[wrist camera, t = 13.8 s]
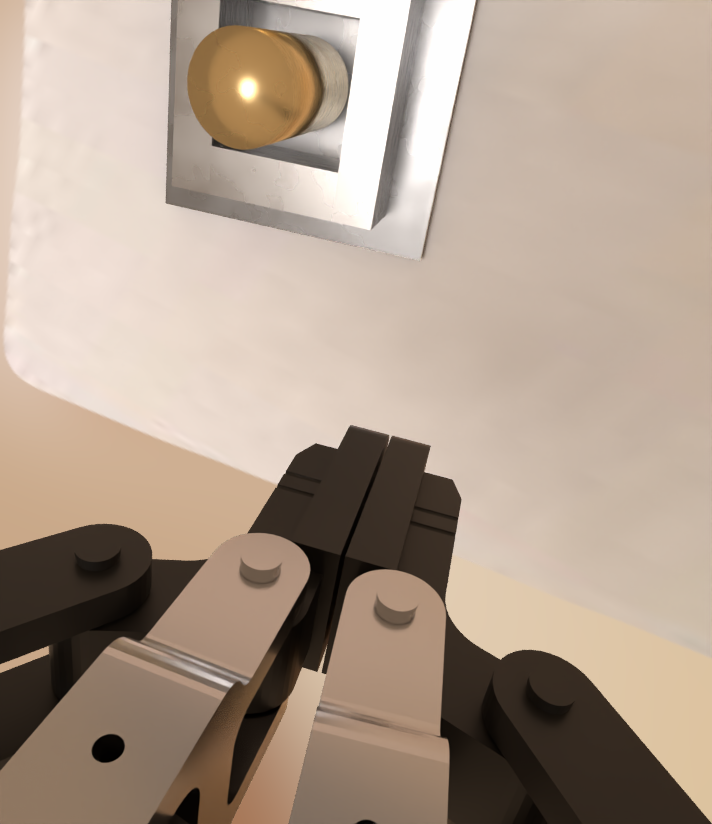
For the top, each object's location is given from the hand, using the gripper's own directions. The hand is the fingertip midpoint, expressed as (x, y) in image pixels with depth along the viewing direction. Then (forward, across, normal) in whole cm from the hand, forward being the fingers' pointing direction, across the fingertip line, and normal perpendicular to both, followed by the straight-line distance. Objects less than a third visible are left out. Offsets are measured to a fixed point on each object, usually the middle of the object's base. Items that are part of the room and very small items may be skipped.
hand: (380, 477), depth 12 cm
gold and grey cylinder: (+26, +10, -4) cm, 28 cm away
